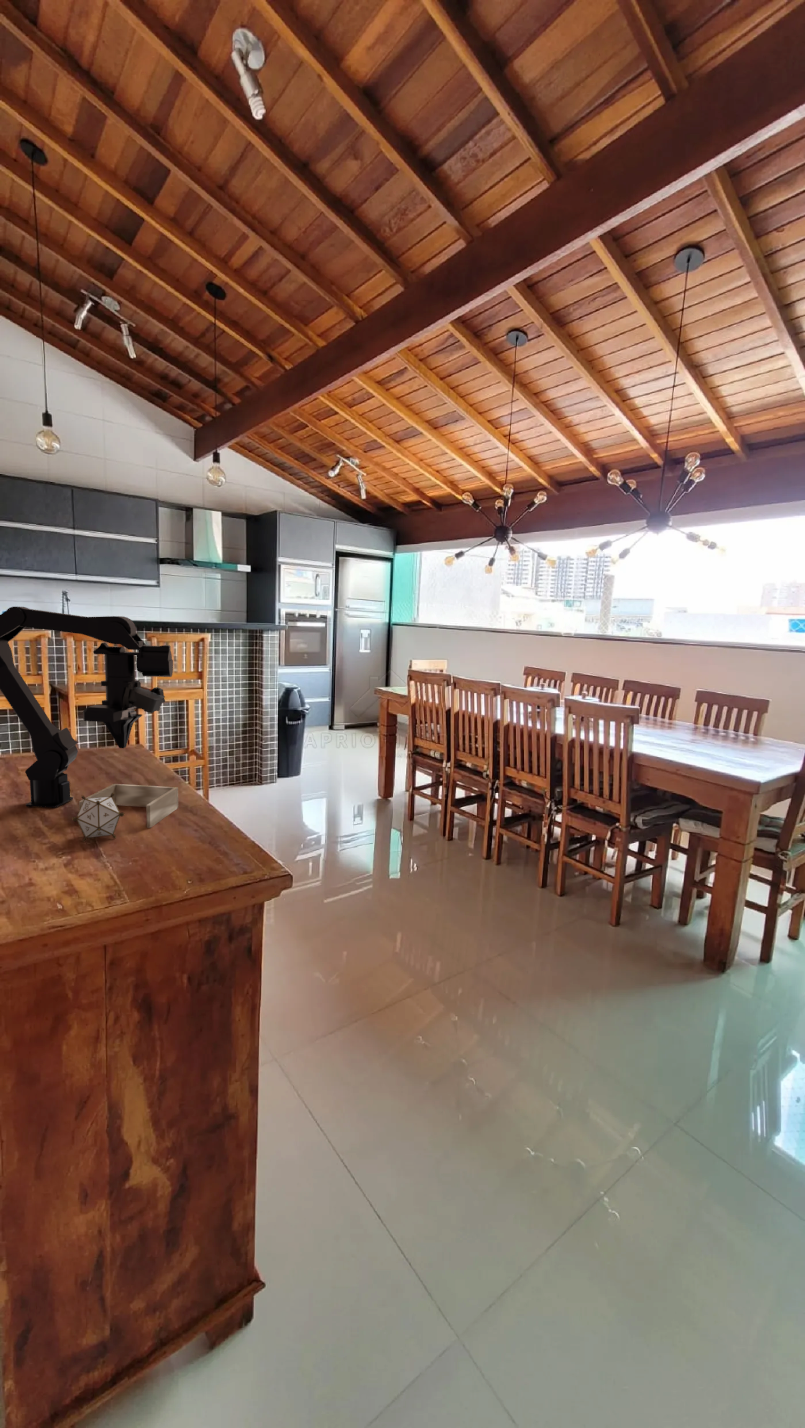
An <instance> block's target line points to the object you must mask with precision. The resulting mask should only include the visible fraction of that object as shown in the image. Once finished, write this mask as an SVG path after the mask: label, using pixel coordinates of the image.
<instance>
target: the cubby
mask: <svg viewBox="0 0 805 1428" xmlns="http://www.w3.org/2000/svg"><path fill="white" fill-rule="evenodd" d="M113 792H114V796H113V797H112V798H113V800H114V802H115V804H116V806H127V807H144V808H146V809H145V810H146V812H145V813H146V828H148V829H151V828H152V827H154V826H155V825H156V824H158V823H159V822H161V821H162V820H163V819H165V818H166V817H168V816H169V815H170V814H172V813H173V812H174V811H176V810H177V809H179V787H178V786H177V787H175V786H174V787H173V786H157V785H140V784H139V785H138V784H123V783H121V784H120V783H113V784H110V785H108V786H107V787H105V788H103V789H101V790H99V791H96V792H95V793H93V794H90V795H89V796H86V798H97V797H108V796H111V793H113ZM83 800H84V799H81V800H79V801H78V811H79V810H80V807H81V805H82V803H83Z"/></svg>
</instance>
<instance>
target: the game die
mask: <svg viewBox="0 0 805 1428" xmlns="http://www.w3.org/2000/svg"><path fill="white" fill-rule="evenodd" d="M113 796H114V792H113V793H111V796H108V797H97V798H87V797H86V796H85V795H83V794H81V798H82V799H81V800H83V799H84V800H83V803H82V805H81V807H80V810H79V809H78V813H77V815H76V816H73V817H72V818H71V820H72V821H73V822H77V825H78V826H79V828H80V830H81V832H82V834H83V836H84V838H83V839H82V843H85V842H86V841H87V839H90V838H91V839H92V838H100V837H108V836H112V838H113V839H117V836H116V835H115V834H114V833H115V831H116V829H117V826H118V823H119V820H120V818H121V817H124V816H125V814H126V813H125V812H121V811H120V809H119V807H118V805H116V804H115V802H114V800H113V798H112V797H113Z"/></svg>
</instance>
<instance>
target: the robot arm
mask: <svg viewBox="0 0 805 1428" xmlns="http://www.w3.org/2000/svg"><path fill="white" fill-rule="evenodd" d="M25 628H32V629H40V630H49V631H54V632H61V633H62V632H63V633H69V634H77V635H78V634H79V635H83V636H87V637H90V638H93V639H95V640H98V641H102V642H100V644H99V646H98V647H97V648H95V650H93V654H94V655H104V674H105V676H104V679H105V680H101V681H100V685H101V687H105V699H103V700H101V704H95V705H90V706H86V708H85V709H84V710H83V711H82V716H83V717H82V718H83V719H82V721H84V722H96V723H98V722H99V723H101V722H102V723H103V724H104V725H105V727H106V728H107V729H108V731H109V733H110V734H111V736H112V737H113V740H114V741H115V743H116V745H117V746H118V748H119V749H126V747H127V744H128V742H129V739H130V736H131V735H130V734H131V732H132V731H131V730H132V728H133V726H134V723H135V722H136V721H137V720H139V718H142V716H143V714H140V713H137V711H136V710H138V709H139V710H143V712H146V713H149V714H153V713H154V712H159V711H160V709H161V707H162V704H165V703H166V700H165V697H166V696H165V695H164V689H163V688H160V687H159V686H156V687H152V688H151V690H150V689H145V688H142V686H141V685H142V684H141V682H140V680H138V679H136V671H137V672H138V673H140V674H142V675H141V676H142V677H149V678H150V677H151V678H152V677H153V678H154V677H155V678H158V677H159V678H161V677H162V678H172V677H173V673H174V659H173V655H172V651H171V650H172V647H171V645H168V644H166V645H165V644H163V645H147V643H145V642H144V640H143V639H142V638H141V637H140V635H139V634H138V633H137V627H136V624H135V623H134V622H133V620H132V619H130V618H129V617H127V616H123V615H122V616H119V615H118V616H117V615H116V616H114V615H112V616H109V615H107V616H83V615H77V614H69V613H62V612H52V611H48V610H41V609H32V608H29V607H25V606H11V607H9V608H7V609H6V610H5V611H4V612H2V613H1V614H0V691H1V693H2V695H3V697H4V698H5V699H6V701H7V702H8V704H9V705H10V707H11V708H12V710H13V711H14V713H15V715H16V716H17V718H18V719H19V720H20V722H21V723H22V725H23V727H24V728H25V730H26V731H27V733H29V736H30V741H31V747H32V751H33V753H34V756H35V758H36V761H34V762H33V764H31V765H30V766H29V767H28V768H27V769H26V770H25V772H24V773H25V775H26V776H27V777H26V778H27V779H28V781H29V788H30V789H29V790H30V791H29V792H30V801H29V802H26V803H25V807H28V808H29V807H34V808H45V809H46V808H48V809H49V808H50V809H55V808H58V807H61V806H62V805H65V804H66V803H69V802H70V801H73V800H74V797H73V796H71V785H70V784H71V783H70V781H69V780H68V773H65V771H67V770H68V768H69V766H70V764H72V763H73V762H74V761H75V759H76V758H77V756H78V752H79V751H78V747H77V744H79V742H78V741H77V740H75V739H74V738H73V736H72V734H71V731H70V730H69V728H68V727H64V728H62V729H59V728H58V727H57V726H56V725H54V724H53V723H52V721H51V720H50V718H49V717H48V715H47V714H46V711H44V709H43V707H42V706H41V703H39V701H38V700H37V699H36V697H35V695H34V693H33V692H32V690H31V689H30V687H29V686H28V684H27V683H26V681H25V679H24V678H23V676H22V675H21V674H20V672H19V671H18V668H16V665H15V663H14V658H13V651H12V649H11V646H10V644H9V642H10V641H12V640H13V639H15V638H16V637H17V636H18V635H20V633H21V632H22V631H23V630H24V629H25ZM108 644H112V646H109V645H108ZM113 645H120V646H113ZM125 649H127V650H131V651H126V650H125ZM132 650H133V651H132ZM134 650H135V651H134Z"/></svg>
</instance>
